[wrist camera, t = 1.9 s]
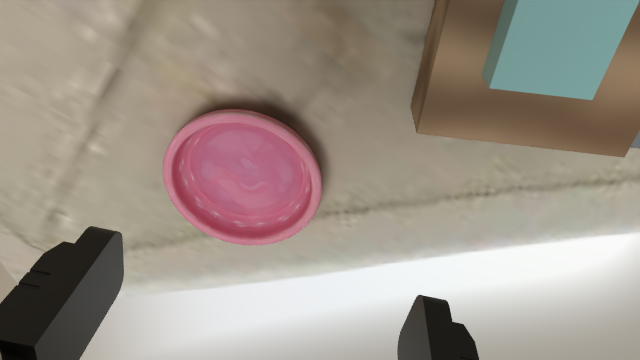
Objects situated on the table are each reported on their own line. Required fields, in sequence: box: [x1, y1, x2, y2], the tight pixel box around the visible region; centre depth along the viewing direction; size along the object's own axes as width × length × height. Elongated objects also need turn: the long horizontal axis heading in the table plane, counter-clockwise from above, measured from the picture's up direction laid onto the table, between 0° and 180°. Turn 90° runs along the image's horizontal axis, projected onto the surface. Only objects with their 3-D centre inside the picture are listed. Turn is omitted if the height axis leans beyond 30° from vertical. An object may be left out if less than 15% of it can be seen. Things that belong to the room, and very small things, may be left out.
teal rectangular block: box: [481, 0, 640, 100], centre depth 25 cm, size 9×6×2 cm, turn 174°
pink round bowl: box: [163, 109, 322, 245], centre depth 37 cm, size 12×12×3 cm
